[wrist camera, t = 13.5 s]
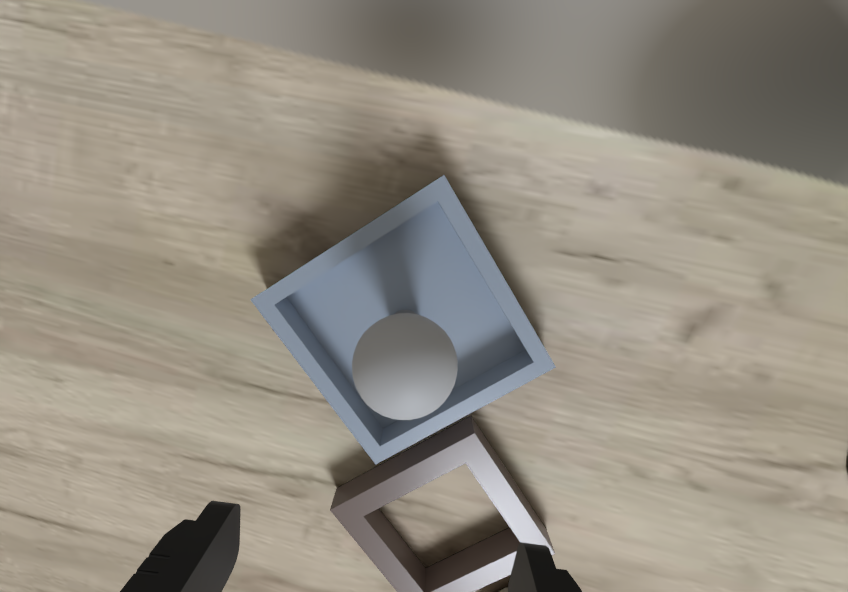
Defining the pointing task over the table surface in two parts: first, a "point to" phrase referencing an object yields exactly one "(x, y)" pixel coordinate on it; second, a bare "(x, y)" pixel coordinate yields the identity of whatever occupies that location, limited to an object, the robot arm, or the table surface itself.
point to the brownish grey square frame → (363, 496)
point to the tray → (406, 290)
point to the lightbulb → (404, 366)
